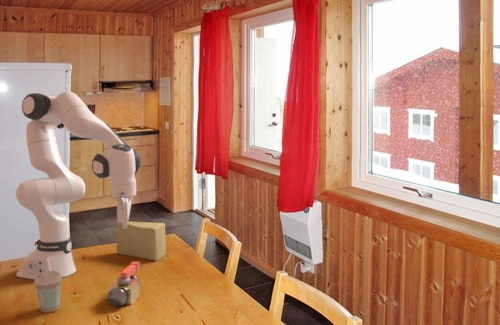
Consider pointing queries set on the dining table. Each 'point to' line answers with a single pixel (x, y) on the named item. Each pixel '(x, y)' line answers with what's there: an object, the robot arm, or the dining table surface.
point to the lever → (128, 273)
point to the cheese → (141, 240)
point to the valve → (124, 292)
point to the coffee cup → (48, 290)
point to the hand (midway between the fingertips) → (125, 227)
